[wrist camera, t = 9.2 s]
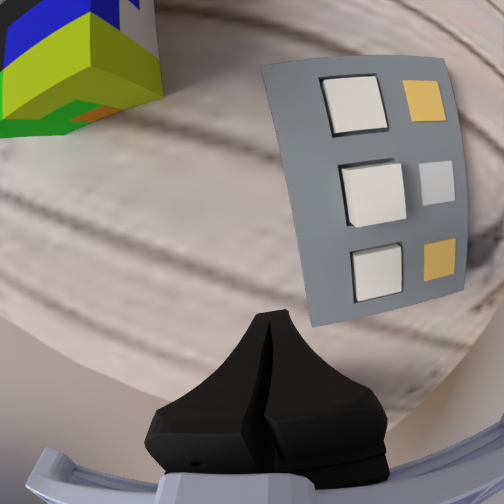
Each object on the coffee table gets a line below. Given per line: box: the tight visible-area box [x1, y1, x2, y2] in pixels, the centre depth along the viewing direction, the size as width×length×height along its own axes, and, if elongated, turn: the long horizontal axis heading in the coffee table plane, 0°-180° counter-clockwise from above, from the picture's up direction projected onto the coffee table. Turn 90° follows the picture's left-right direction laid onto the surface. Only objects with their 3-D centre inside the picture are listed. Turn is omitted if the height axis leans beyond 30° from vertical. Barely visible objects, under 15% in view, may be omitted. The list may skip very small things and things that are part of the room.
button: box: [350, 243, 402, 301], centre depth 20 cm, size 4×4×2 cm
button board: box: [261, 55, 468, 327], centre depth 19 cm, size 19×14×2 cm
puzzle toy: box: [0, 0, 164, 138], centre depth 13 cm, size 10×10×10 cm
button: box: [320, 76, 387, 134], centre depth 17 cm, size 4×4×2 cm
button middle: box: [342, 162, 406, 228], centre depth 17 cm, size 4×4×2 cm
